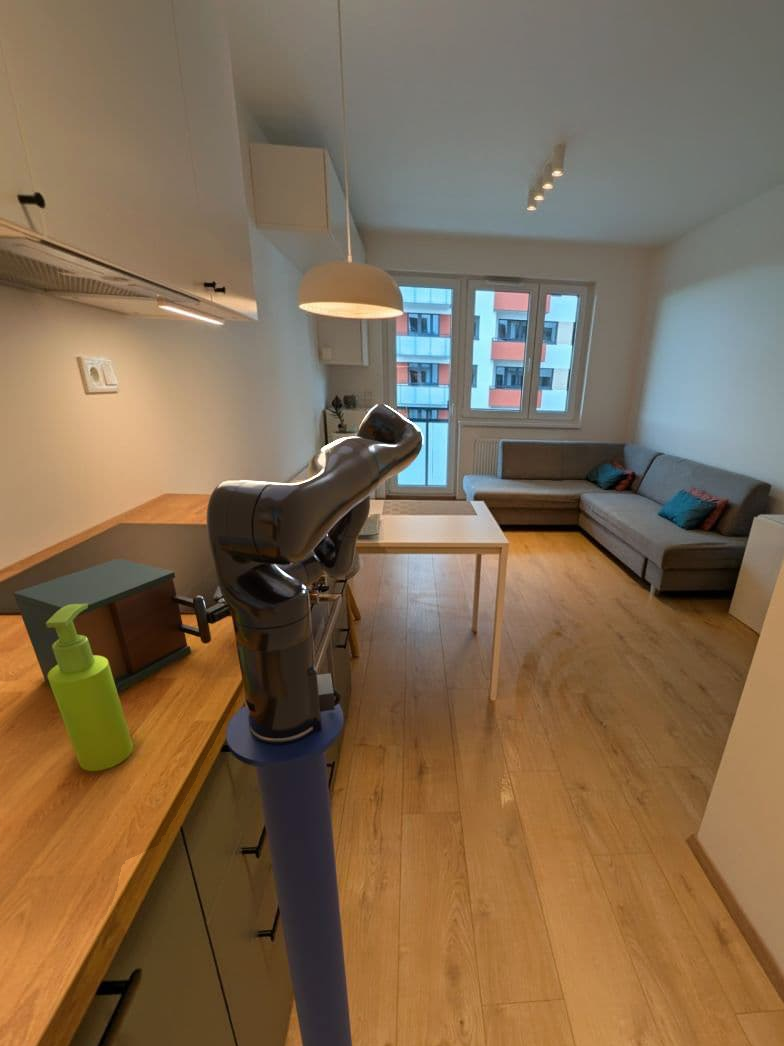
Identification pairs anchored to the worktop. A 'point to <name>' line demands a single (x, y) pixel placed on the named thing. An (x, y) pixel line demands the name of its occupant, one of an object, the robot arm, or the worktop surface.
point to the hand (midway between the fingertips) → (206, 618)
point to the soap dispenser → (87, 697)
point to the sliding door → (155, 625)
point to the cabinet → (91, 613)
